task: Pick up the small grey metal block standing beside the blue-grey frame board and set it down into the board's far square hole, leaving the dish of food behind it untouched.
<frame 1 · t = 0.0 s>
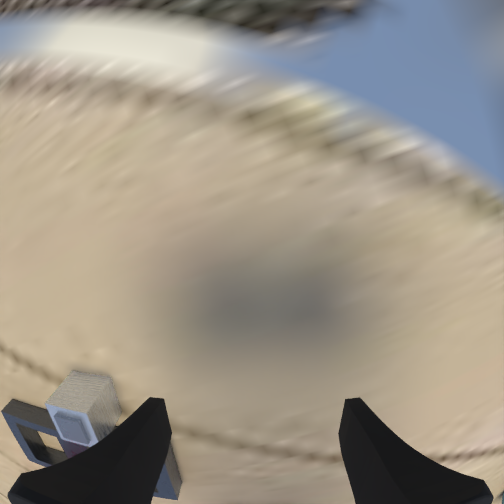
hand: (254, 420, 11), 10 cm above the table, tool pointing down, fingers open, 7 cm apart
blue-grey frame board: (89, 444, 26), on the table
grey metal block: (96, 391, 24), on the table
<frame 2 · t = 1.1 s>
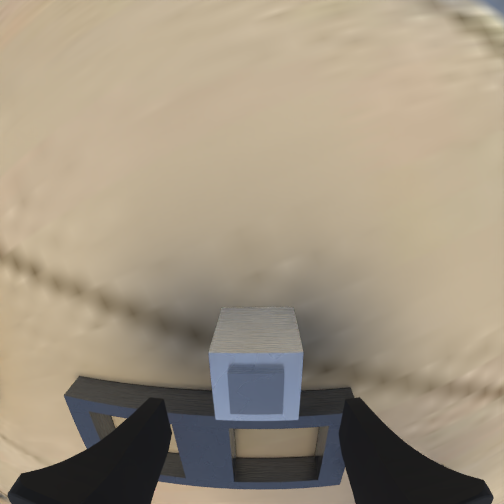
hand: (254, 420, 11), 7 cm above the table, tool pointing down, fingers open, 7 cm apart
blue-grey frame board: (209, 432, 20), on the table
grey metal block: (258, 338, 18), on the table
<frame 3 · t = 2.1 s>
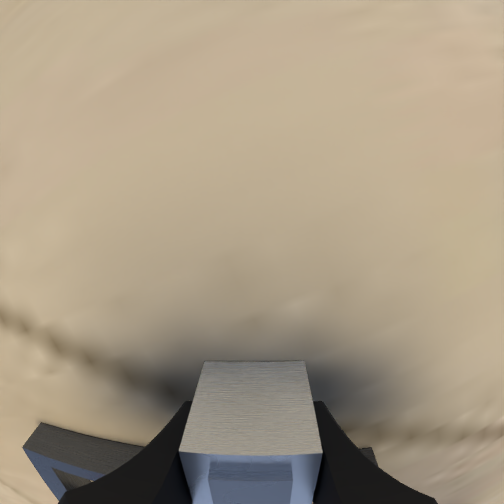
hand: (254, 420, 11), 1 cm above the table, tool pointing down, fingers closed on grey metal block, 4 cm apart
blue-grey frame board: (197, 491, 15), on the table
grey metal block: (255, 399, 13), on the table, touching gripper
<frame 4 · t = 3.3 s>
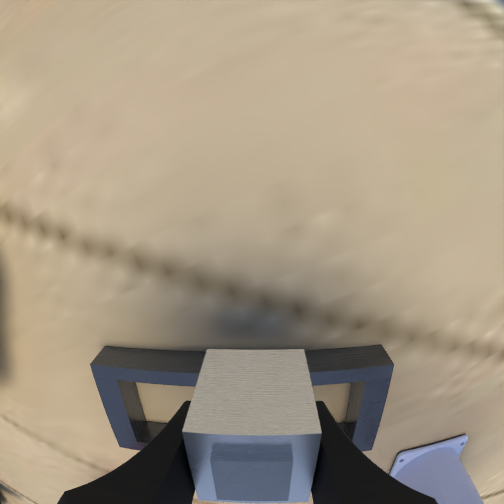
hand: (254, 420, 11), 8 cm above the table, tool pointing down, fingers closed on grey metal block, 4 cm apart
blue-grey frame board: (241, 399, 21), on the table
grey metal block: (255, 387, 13), point 6 cm above the table, touching gripper
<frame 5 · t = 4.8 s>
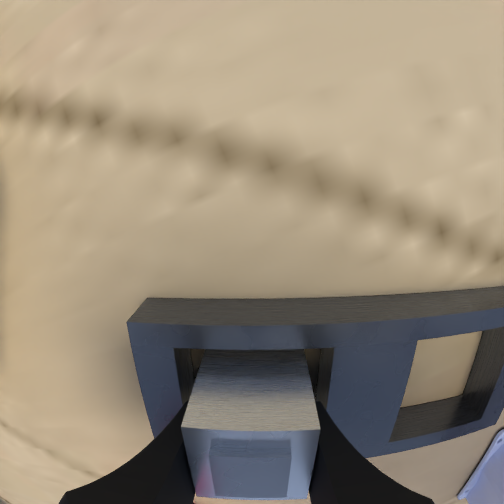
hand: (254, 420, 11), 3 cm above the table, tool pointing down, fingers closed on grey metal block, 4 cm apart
blue-grey frame board: (353, 371, 14), on the table
grey metal block: (254, 384, 13), point 1 cm above the table, touching gripper
when the fingers open (3 cm above the table, at t = 5.1 s): grey metal block drops 1 cm, resting in blue-grey frame board.
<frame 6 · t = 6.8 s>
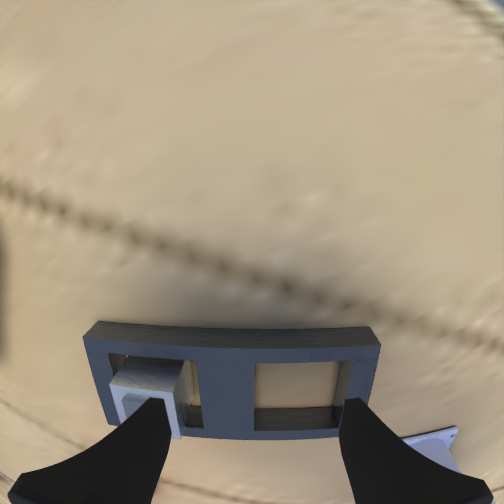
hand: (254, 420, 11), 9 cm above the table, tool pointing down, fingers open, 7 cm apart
blue-grey frame board: (230, 377, 22), on the table
grey metal block: (165, 370, 22), resting in blue-grey frame board
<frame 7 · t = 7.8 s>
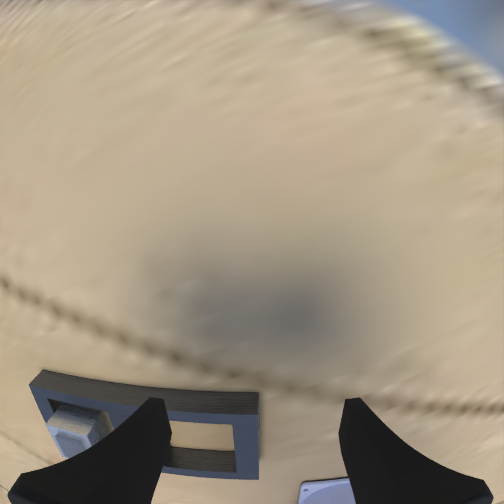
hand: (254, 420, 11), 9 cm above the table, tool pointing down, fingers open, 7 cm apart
blue-grey frame board: (145, 421, 23), on the table
grey metal block: (96, 410, 23), resting in blue-grey frame board
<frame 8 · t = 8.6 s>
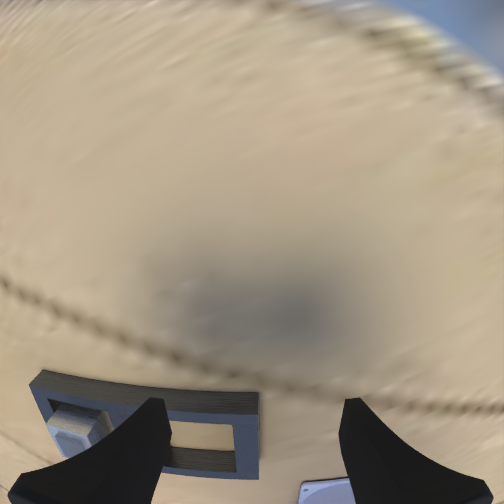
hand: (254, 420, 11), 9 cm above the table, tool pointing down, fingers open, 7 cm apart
blue-grey frame board: (145, 421, 23), on the table
grey metal block: (96, 410, 23), resting in blue-grey frame board
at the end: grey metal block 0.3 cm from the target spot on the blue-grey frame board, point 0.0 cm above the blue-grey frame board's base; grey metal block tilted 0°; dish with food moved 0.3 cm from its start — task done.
